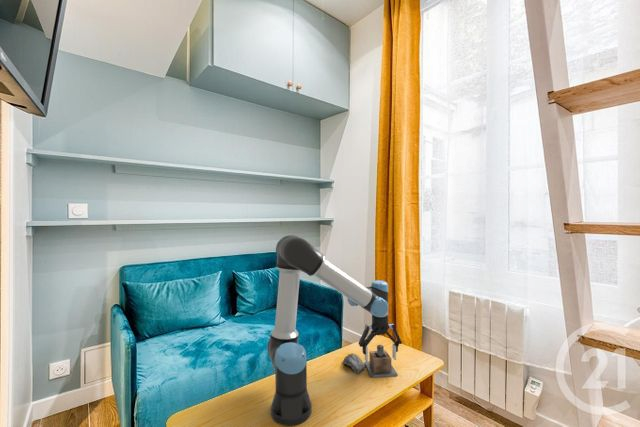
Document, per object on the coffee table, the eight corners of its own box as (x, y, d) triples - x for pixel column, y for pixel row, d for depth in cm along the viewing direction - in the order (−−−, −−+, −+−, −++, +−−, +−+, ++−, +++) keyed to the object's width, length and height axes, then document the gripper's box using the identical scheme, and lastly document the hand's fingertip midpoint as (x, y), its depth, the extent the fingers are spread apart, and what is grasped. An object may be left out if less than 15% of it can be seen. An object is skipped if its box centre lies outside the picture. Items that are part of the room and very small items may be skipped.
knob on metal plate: (371, 377, 132) (371, 353, 132) (364, 363, 144) (364, 341, 144) (397, 375, 133) (397, 351, 133) (388, 361, 145) (388, 339, 145)
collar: (374, 372, 134) (374, 359, 134) (369, 363, 142) (369, 351, 142) (391, 371, 135) (391, 358, 135) (385, 362, 143) (385, 350, 143)
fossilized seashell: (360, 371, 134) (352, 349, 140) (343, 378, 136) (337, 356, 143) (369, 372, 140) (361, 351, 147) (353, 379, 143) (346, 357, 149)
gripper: (355, 319, 133) (356, 365, 133) (408, 316, 136) (409, 361, 136) (352, 313, 140) (352, 357, 141) (402, 310, 143) (402, 353, 144)
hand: (380, 359), depth 138 cm, fingers open, 13 cm apart
